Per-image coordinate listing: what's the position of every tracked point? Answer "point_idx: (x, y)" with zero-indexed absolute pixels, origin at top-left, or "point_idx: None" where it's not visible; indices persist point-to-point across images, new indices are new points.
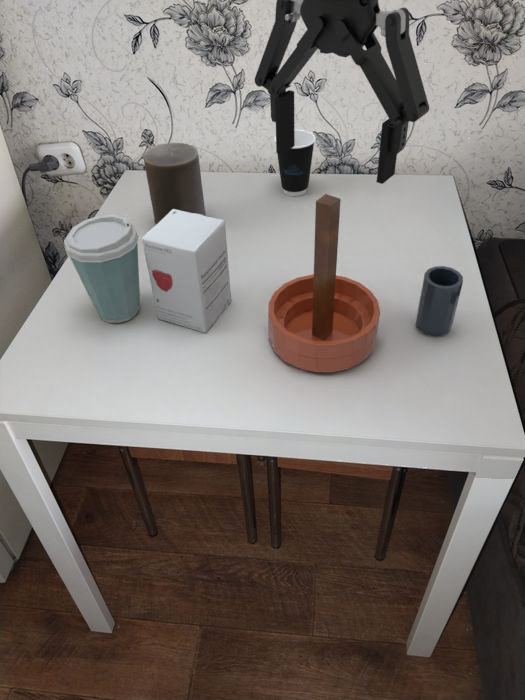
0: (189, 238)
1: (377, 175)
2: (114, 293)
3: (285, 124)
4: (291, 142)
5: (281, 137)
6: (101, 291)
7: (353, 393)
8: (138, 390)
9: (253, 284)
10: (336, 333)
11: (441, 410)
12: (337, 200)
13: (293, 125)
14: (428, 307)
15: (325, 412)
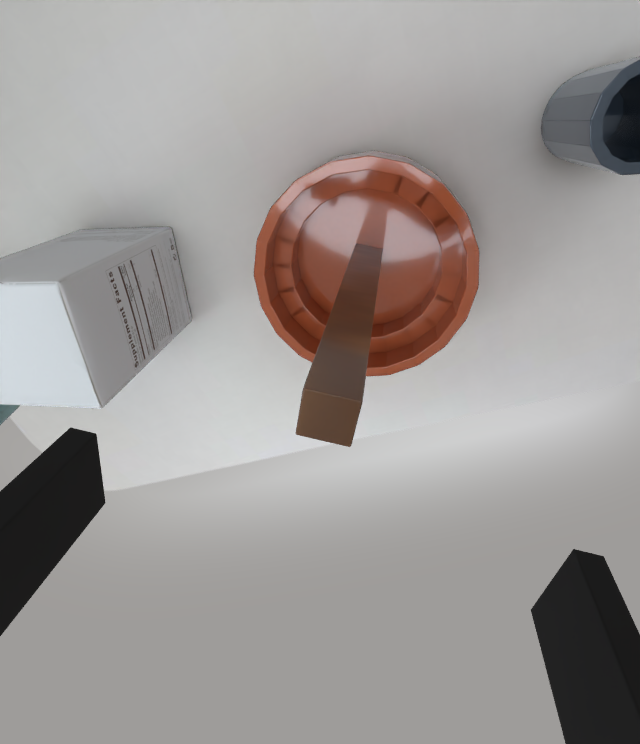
0: (58, 378)
1: (539, 637)
2: None
3: (17, 580)
4: (83, 468)
5: (59, 557)
6: None
7: (455, 353)
8: (192, 436)
9: (174, 158)
10: (390, 247)
11: (601, 338)
12: (356, 412)
13: (27, 513)
14: (587, 165)
15: (426, 395)
